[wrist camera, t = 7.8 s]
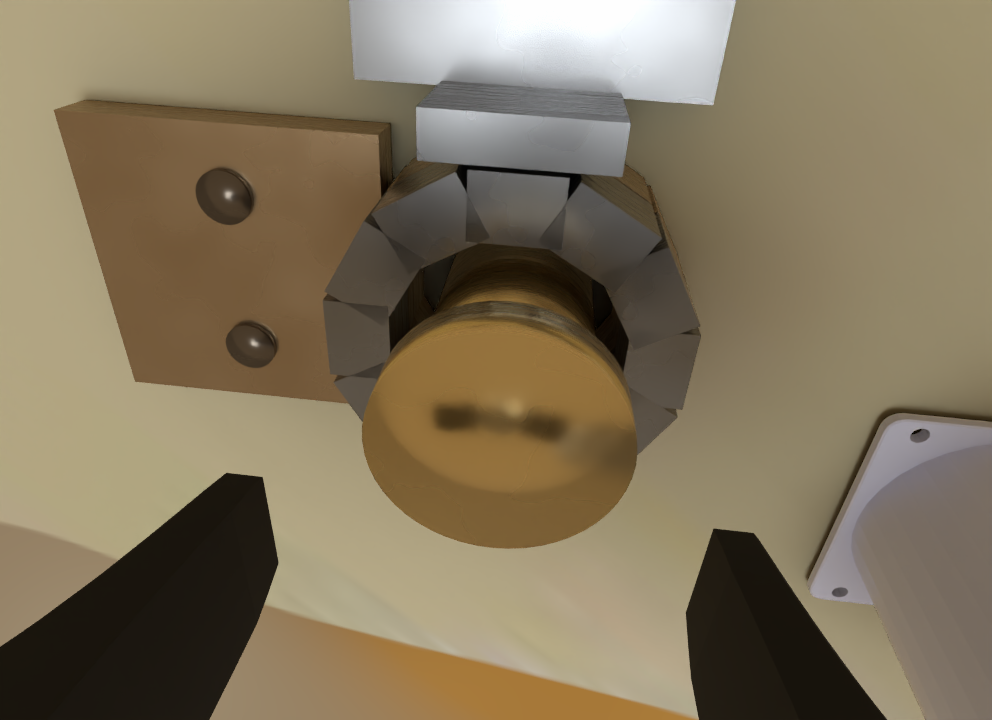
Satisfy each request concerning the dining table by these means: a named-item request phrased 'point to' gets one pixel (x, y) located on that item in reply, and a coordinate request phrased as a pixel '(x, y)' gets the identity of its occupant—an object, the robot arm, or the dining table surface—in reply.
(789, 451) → the dining table surface
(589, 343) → the pin
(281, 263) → the brown riveted plate
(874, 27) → the dining table surface
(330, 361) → the dark piece
